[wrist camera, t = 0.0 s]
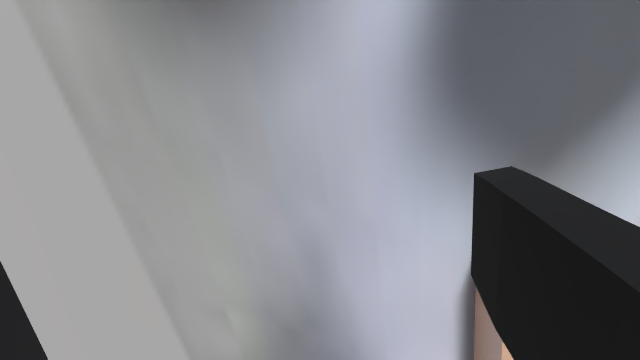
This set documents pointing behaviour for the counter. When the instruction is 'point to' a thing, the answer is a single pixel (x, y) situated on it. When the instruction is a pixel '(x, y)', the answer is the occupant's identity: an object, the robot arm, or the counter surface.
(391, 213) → the counter surface
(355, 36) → the counter surface
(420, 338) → the counter surface
